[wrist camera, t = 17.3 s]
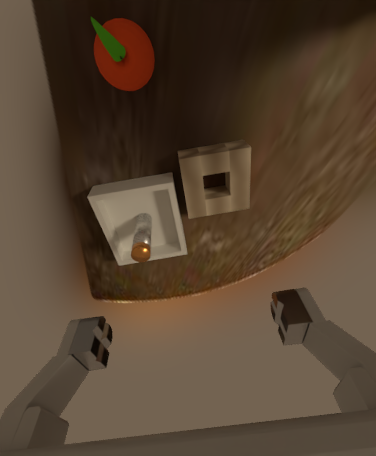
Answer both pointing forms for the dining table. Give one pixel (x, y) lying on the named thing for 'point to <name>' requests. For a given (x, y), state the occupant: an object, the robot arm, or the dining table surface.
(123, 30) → the clementine
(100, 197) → the tray
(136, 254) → the pin
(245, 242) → the dining table surface
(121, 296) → the dining table surface
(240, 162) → the block
